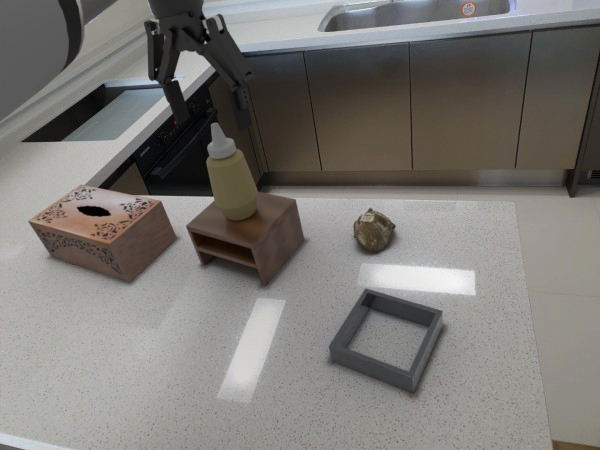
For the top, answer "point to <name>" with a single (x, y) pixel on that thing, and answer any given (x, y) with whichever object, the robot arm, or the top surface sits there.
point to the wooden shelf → (250, 235)
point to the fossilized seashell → (373, 230)
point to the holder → (374, 366)
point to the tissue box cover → (105, 231)
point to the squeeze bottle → (230, 177)
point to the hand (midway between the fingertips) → (213, 123)
